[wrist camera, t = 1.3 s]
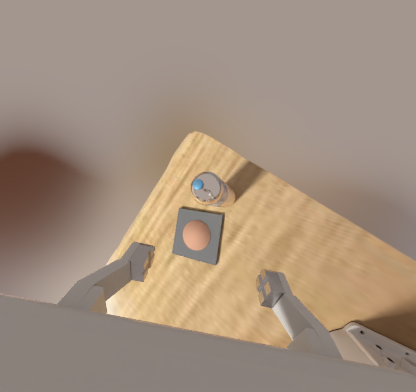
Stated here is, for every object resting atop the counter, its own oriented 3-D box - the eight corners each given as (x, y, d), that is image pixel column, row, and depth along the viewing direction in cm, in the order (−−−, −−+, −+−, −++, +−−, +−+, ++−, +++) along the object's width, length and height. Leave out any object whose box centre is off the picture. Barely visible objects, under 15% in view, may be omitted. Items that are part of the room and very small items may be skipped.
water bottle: (237, 206, 48) (219, 200, 24) (217, 208, 50) (181, 206, 26) (234, 185, 49) (213, 161, 25) (214, 188, 51) (178, 169, 27)
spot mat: (223, 215, 49) (222, 215, 48) (216, 264, 48) (215, 265, 47) (180, 208, 54) (178, 208, 53) (173, 252, 53) (171, 253, 52)
